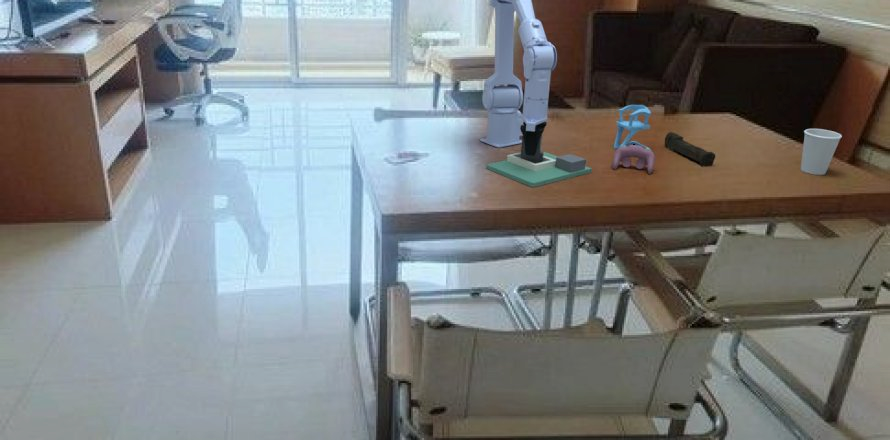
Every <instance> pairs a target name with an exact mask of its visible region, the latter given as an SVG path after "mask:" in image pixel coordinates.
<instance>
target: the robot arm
mask: <svg viewBox="0 0 890 440" xmlns="http://www.w3.org/2000/svg"><path fill="white" fill-rule="evenodd" d="M489 5H490V6H491V7H492V8H494V16H495V18H494V19H495V20H494V73H492V74H491V75H490V76H489V77H488V78H487V79H486V80H484V83H483V91H482V95H481V96H482V98H481V99H482V100H481V101H482V105H483V107H484V109H485V110H487V111H488V112H487V124H486V126H487V127H486V137H483V138H480V139H479V141H480V142H482V143H485V144H487V145H490V146H492V147H496V148H500V149H501V148H505V147H508V146H513V145H514V146H515V145H517V144H522V140H519V136H520V135H521V136H523V138H524V143H525V152H526V155H532V156H534V155H535V153H536V150H537V146H538V142H539V139H540V136H541V135H543V133H544V131H545V128H546V126H547V123H548V122H547V121H548V108H549V107H548V105H549V94H550V85H551V75H552V72H553V71H554V70H555V68H556V66H557V62H558V54H557V53H558V52H557V50H556V49H557V48H556V47H555V45H553V44H552V43H551V42H550V41H548V39H547V36H546V33H545V29H544V27H543V24H542V22H541V20H539V19H538V18H536V16H535V15H536V14H535V12H534V6H533V2H532V0H489ZM515 13H516V16H517V18H518V20H519V23H520V25H519V27H518V31H517V32H518V35H519V39H520V41H521V44H522V47H523V55H522V65H523V77H524V78H525V79H524V80H525V83H524V84H525V85H524V93H523V87H522V81H521V79H519V78H518V77H517V76H516V75H515V74H514V47H515V45H514V43H515V41H514V40H515V37H514V36H515ZM499 85H500V86H499ZM522 105H523V106H522ZM521 106H522V112H521V111H520V110H519V109H520V108H521Z"/></svg>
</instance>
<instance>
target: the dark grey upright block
mask: <svg viewBox="0 0 890 440" xmlns="http://www.w3.org/2000/svg"><path fill="white" fill-rule="evenodd" d="M519 140H522V143H521V147H520V152H521V157H520V158H521V159H524V160H527V161H529V162H532V163H535V164H536V163H541V162H543V155H544V152H545V151H542V144H543V143H542V142H543V134H541V136H540V139H539V142H538V146H537V150H536V153H535V155H534V156H532V155H526V152H525V143H524V138H523V135H522V136H521V135H520V136H519Z"/></svg>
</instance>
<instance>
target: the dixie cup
mask: <svg viewBox="0 0 890 440" xmlns="http://www.w3.org/2000/svg"><path fill="white" fill-rule="evenodd" d="M803 133H804V138H803V139H804V140H803V147H802V156H801V162H800V163H801V164H800V171H802V172H804V173H807V174H810V175H814V176H815V175H817V176H823V175H826V173H827V171H828V169H829V166H830V165H831V161H832V158H833V156H834V154H835V151H836V150H837V147H838V145H839V143H840V140H841V139H842V137H843V136H842V134H841V133H838V132H836V131H832V130H830V129H829V130H827V129H823V128H807V129H805V130H803Z"/></svg>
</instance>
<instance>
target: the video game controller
mask: <svg viewBox="0 0 890 440" xmlns="http://www.w3.org/2000/svg"><path fill="white" fill-rule="evenodd" d="M648 148H649V147H648ZM648 148H645V147H642V146H638V145H627V146H621V147H619V148H618V149H616V150H615V152H614V154H613V158H612V169H613V171H615V170H617V169H618V168H619V165H620V162H621V164H622V166H623V167H624V168H625V167H626V168H628V169H629V168H630V167H632V159H631V158H637V160H636V161H635V163H634V166H635V168H636V169H637V170H643V169H644V168H645V167H646V166H647V168H646V170H647V174H649V175H650V174H652V173H653V170H654V167H655V153H654V152H653V151H652V149H651V148H650V149H648Z"/></svg>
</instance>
